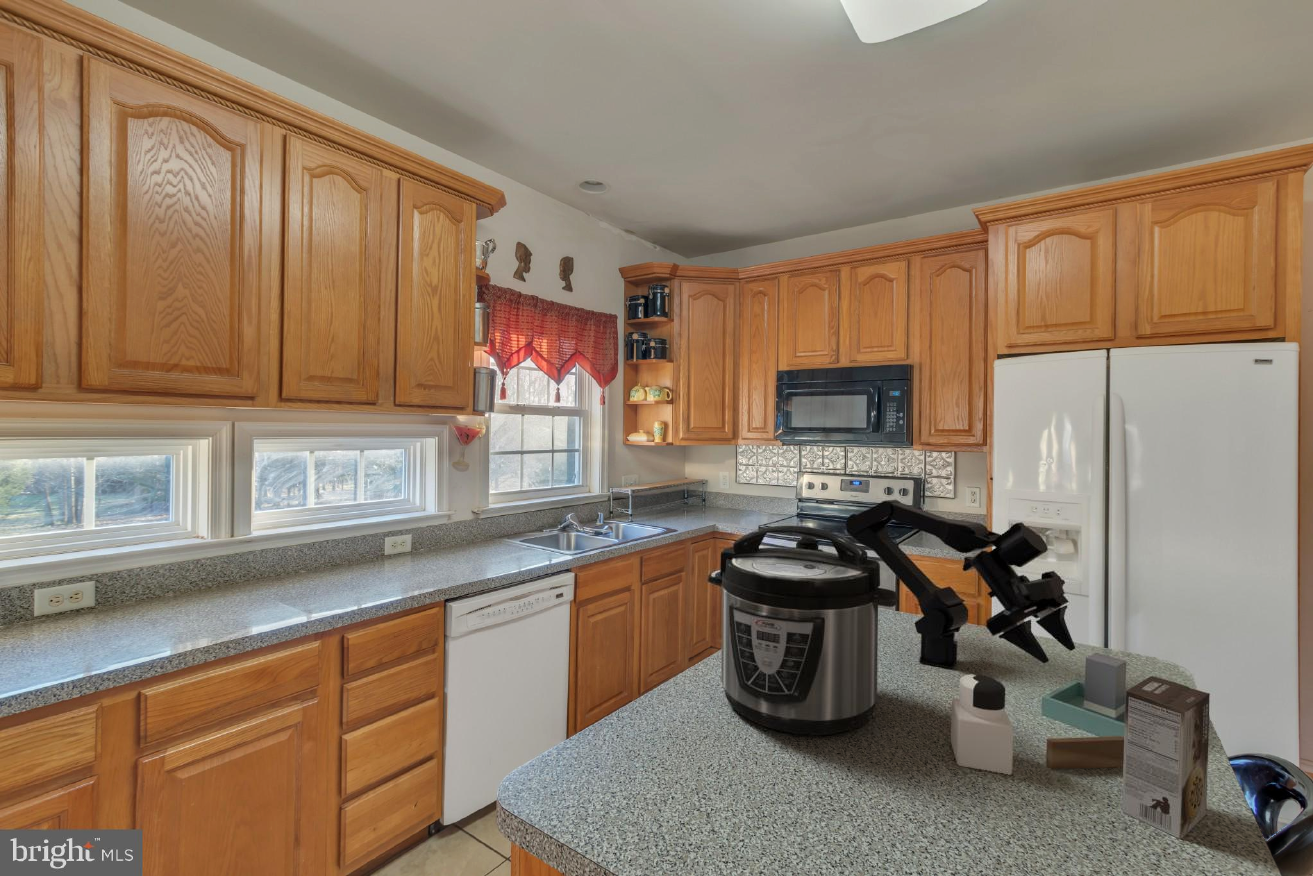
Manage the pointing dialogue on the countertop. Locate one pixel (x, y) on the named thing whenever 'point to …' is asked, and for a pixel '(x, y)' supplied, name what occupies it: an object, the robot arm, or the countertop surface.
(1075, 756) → the back rail
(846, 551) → the pressure cooker
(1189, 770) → the coffee box
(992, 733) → the medicine bottle
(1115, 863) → the countertop surface
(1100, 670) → the grey upright cuboid
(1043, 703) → the tray
